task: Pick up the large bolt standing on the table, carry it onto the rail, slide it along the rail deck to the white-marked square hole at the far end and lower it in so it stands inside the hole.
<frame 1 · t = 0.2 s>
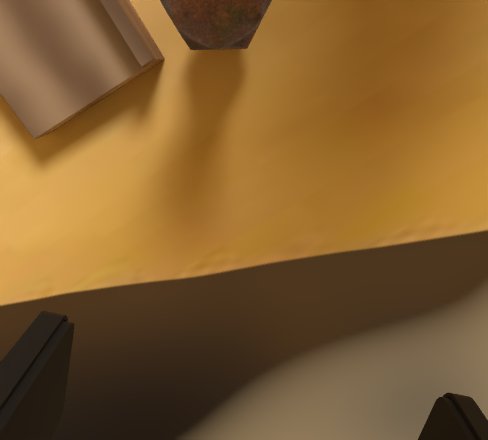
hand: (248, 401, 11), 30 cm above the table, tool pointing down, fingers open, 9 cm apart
bolt: (227, 18, 36), on the table
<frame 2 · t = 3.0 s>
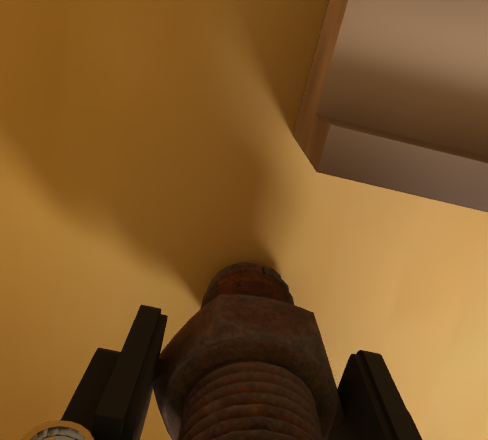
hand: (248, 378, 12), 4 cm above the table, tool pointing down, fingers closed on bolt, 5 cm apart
bolt: (247, 297, 16), on the table, touching gripper
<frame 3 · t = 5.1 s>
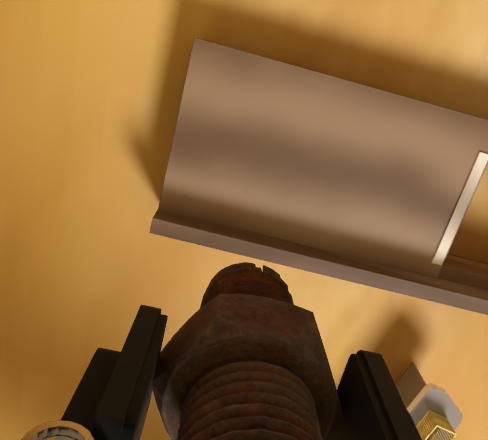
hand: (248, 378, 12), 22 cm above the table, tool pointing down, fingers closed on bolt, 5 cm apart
rail: (382, 182, 33), on the table
bolt: (247, 296, 16), point 17 cm above the table, touching gripper
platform: (392, 396, 40), on the table
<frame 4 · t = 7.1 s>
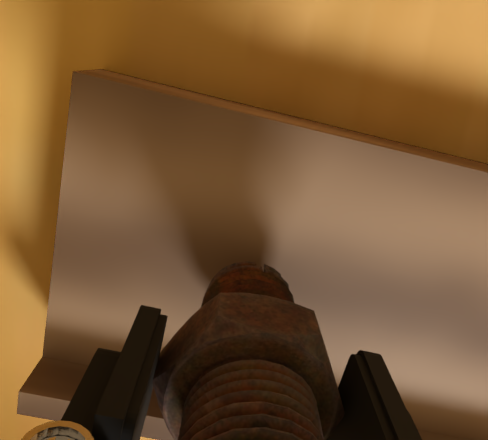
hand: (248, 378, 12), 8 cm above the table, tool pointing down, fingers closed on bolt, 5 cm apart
rail: (418, 289, 20), on the table
bolt: (248, 295, 16), point 4 cm above the table, touching gripper
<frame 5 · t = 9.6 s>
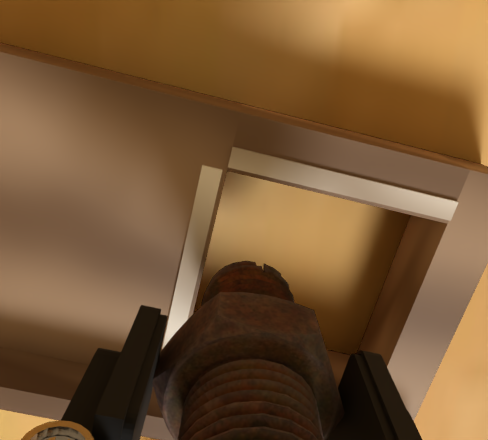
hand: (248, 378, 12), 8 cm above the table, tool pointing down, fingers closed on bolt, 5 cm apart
rail: (92, 216, 19), on the table
bolt: (247, 295, 16), point 4 cm above the table, touching gripper
when the fingers open (6 cm above the table, at t = 11.2 s): bolt drops 1 cm, resting in rail.
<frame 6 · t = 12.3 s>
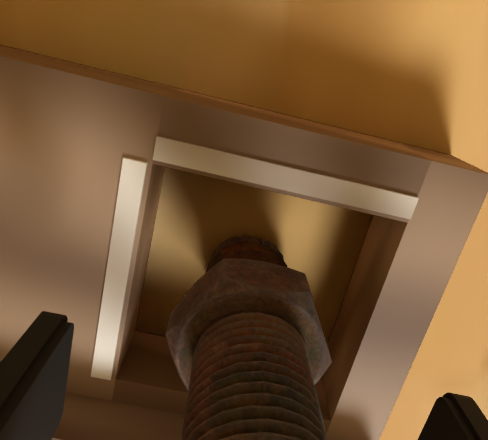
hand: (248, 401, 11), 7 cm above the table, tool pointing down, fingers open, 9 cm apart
rail: (20, 216, 17), on the table
bolt: (246, 267, 18), resting in rail
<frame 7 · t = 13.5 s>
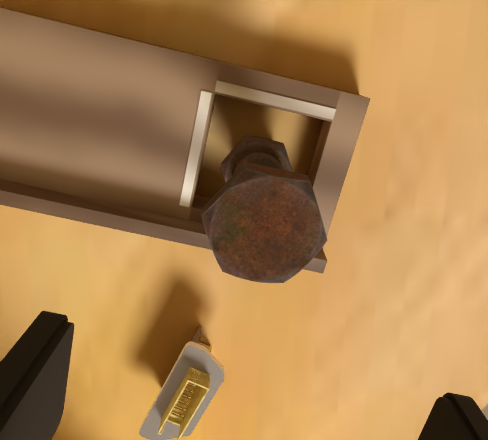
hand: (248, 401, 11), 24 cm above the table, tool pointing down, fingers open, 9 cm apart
rail: (139, 129, 33), on the table
bolt: (256, 157, 34), resting in rail
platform: (191, 358, 41), on the table
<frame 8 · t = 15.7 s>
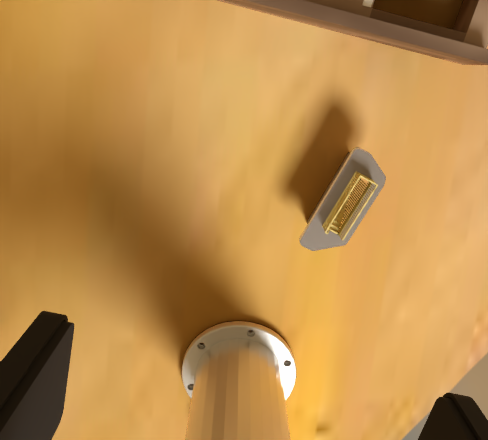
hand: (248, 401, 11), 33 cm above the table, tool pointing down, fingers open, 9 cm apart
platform: (334, 190, 45), on the table
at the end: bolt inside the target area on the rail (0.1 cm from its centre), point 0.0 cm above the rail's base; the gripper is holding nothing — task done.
